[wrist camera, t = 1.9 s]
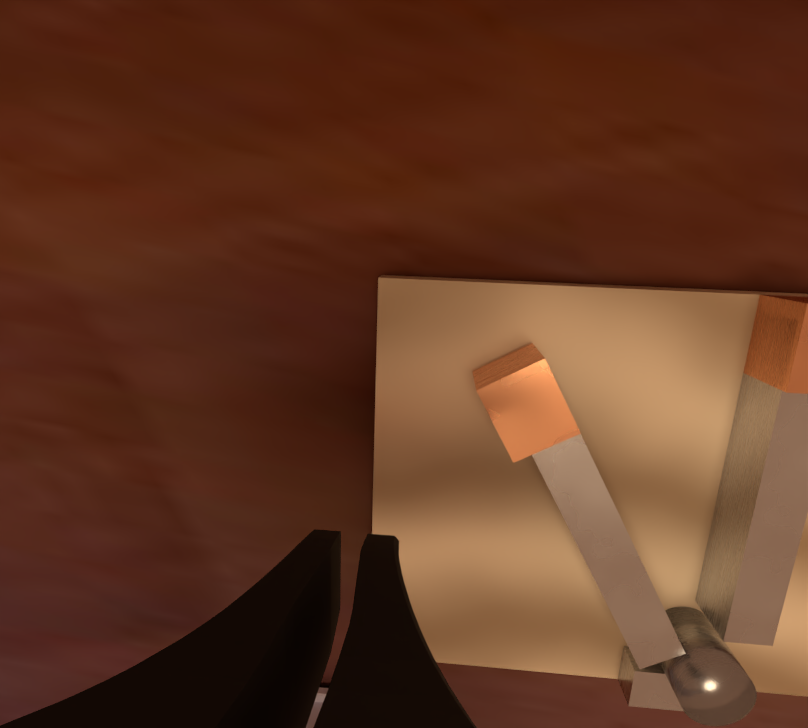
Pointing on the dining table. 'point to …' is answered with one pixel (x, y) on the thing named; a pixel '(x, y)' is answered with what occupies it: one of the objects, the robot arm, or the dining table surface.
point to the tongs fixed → (743, 532)
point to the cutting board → (523, 482)
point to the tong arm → (576, 494)
